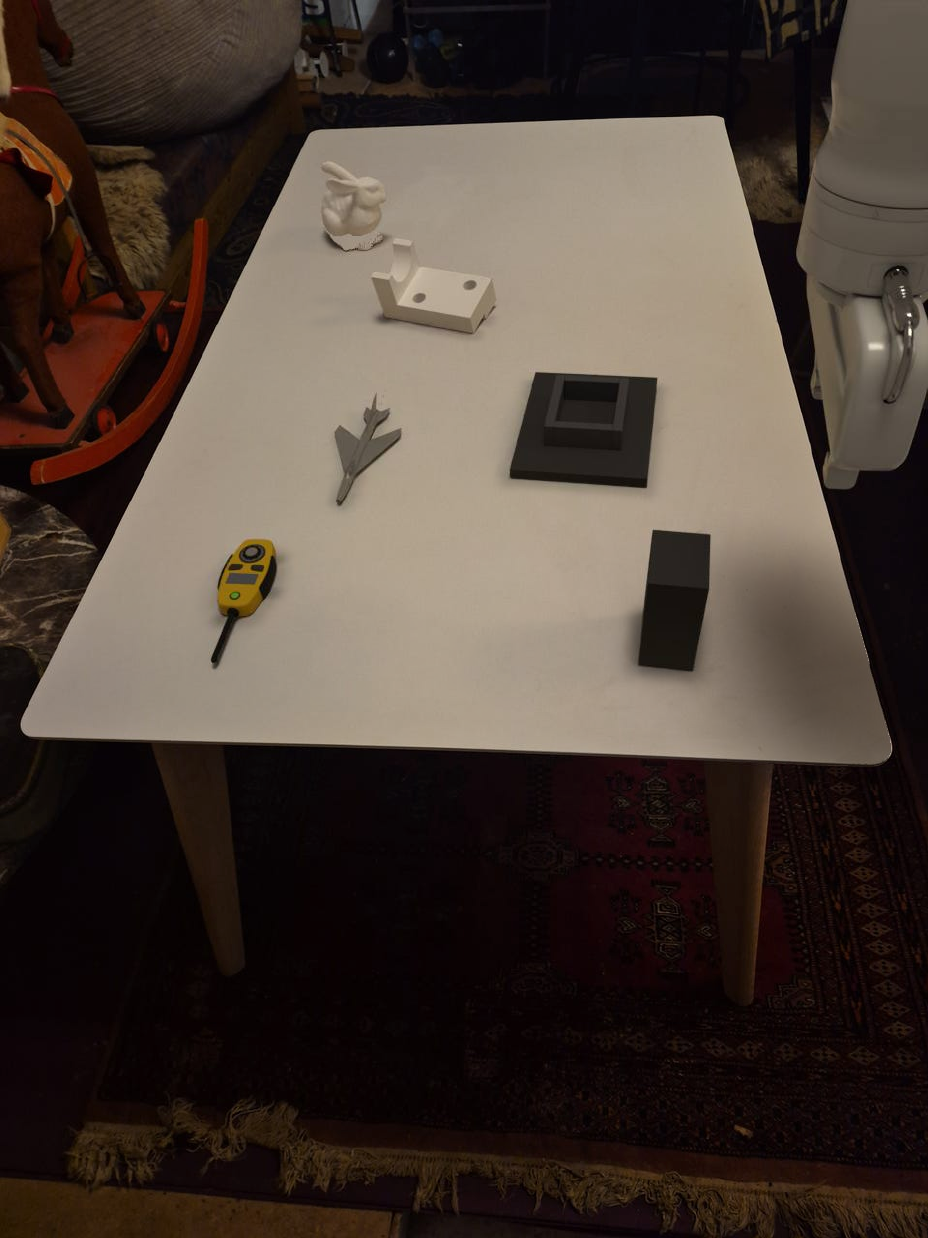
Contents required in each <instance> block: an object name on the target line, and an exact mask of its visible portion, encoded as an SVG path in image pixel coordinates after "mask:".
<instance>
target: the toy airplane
mask: <svg viewBox="0 0 928 1238" xmlns="http://www.w3.org/2000/svg"><path fill="white" fill-rule="evenodd" d="M384 391H385V392H387V389H384ZM377 394H378V392H375V395H374V397H373V400H372V404H371V408H369V407H368V406H366V407H365V409H364V411H363V415H362V416H363V417H364V420H365V421H366V425H365V427H364V429H363V431H362V433H361V436H360V438H358V437H356V435H354V434H353V433H352V432H350V431H349V430H348V429H346V428H345V427H343V426H342V425H341V424H339V425H338V426H337V427H336V429H335V431H334V437H335V439H336V444H337V448H338V451H339V456H340V460H341V463H342V467H343V471H344V475H343V477H342V480H341V482H340V485H339V489H338V491H337V496H336V501H335V502H336V503H337V504H341V503H342V501H343V500H344V499H345V497H346V495H347V494H348V492H349V490H350V488H351V485H352V483H353V481H354V479H355V476H356V474H357V473H359V472H360V471H361V470H362V469H364V467H366V466H367V465H368V464H370V463H371V462H372V461H373V460H374V459H375V458H376V457H378V456H379V455H380V454H381V453H382V452H383V451H384V450H386V449H387V448H388V447H389V446H390V445H391V444H393V443H394V442H395V441H396V440H397V439H398V438H400V437H401V434H402V427H400V428H398V429H395V430H392V431H390V432H387V433H384V434H382V435H380V436H376V437H374V438H371V437H372V435H373V432H374V430H375V427H376V425H377V424H378V423H379V422H380V421H382V420H383V419H385V418H386V417H387V416H388V414H389V412H390V410H391V407H388V408H386V409H383V410H381V411H380V410H379V409H377V398H378V397H377ZM382 397H385V395H384V394H382ZM382 404H383V403H382V402H380V403H379V405H380V406H381V405H382Z"/></svg>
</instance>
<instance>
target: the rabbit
mask: <svg viewBox="0 0 928 1238" xmlns="http://www.w3.org/2000/svg"><path fill="white" fill-rule="evenodd" d="M320 168H321V170H322V172H323V173H326V174H328V175H330V176H333V177H335V178H327V179H326V180H325V186H326V188H327V190H326V191H325V193H324V194H323V197H322V200H321V209H320V213H321V217H322V223H323V224H322V225H323V226H324V229H325V228H326V230H327V231H328V232H329V233H330V234H332V235H333V236H343V235H346V234H351V235H352V236H362V235H365V234H368V233H371V232H372V231H374V230H375V229H376V228H377V227H378V226H379V225H380V223H381V221H382V209H381V207H380V204H384V203H385V202H386V201H387V198H388V197H387V189H386V187H385V186H384V184H383V183H382V182H381V181H379V180H378V179H376V178H374V177H372V176H361V177H359V178H358V177H355V176H354V175H352V173H351V172H349V171H348V170H346V169H345V168H343V167H342V166H340V164H337V163H335V162H334V161H330V160H329V161H328V160H327V161H325V162H324V163H322V164H321V167H320ZM379 233H380V234H379V235H377V238H378V237H379V236H382V238H383V235H382V233H381V232H379ZM382 238H381V237H380V240H377V241H378V243H381V242H382V241H381V239H382ZM383 239H384V238H383ZM383 239H382V240H383ZM370 240H371V239H370ZM375 241H376V238H375ZM375 241H373V244H372V243H371V246H372V247H371V246H369V245H367V244H366V245H367V247H365V243H364V242H363V243H364V246H363V245H362V248H361V244H360V243H359V246H360V247H359V246H357V247H358V249H357V248H356V249H355V250H359V251H368V250H371V249H373V248H374V247H373V246H374V245H375V244H378V243H377V242H375ZM374 242H375V243H374ZM368 244H369V242H368ZM349 251H353V250H352V249H351V250H349ZM349 251H348V252H349Z"/></svg>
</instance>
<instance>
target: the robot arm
mask: <svg viewBox="0 0 928 1238" xmlns="http://www.w3.org/2000/svg"><path fill="white" fill-rule="evenodd" d="M831 72H832V73H831V79H830V81H831V82H830V83H831V84H830V85H831V87H830V88H831V99H832V104H831V105H832V108H831V114H830V115H831V116H830V121H829V125H828V128H827V131H826V134H825V137H824V139H823V140H822V142H821V144H820V146H819V149H818V151H817V153H816V155H815V158H814V162H813V165H812V172H811V177H810V180H809V185H808V190H807V195H806V200H805V205H804V211H803V216H802V221H801V225H800V229H799V230H800V231H799V236H798V239H797V240H798V241H797V246H796V253H795V254H796V255H795V256H796V259H797V263H798V265H799V266H800V267H801V269H802V271H804V272H805V273H806V298H807V303H808V310H809V311H808V312H809V317H810V325H811V330H812V336H813V344H814V367H813V371H812V374H811V378H810V390H811V396H812V397H813V399H814V400H817V401H818V400H820V401H822V405H823V411H824V419H825V424H826V432H827V438H828V439H827V440H828V445H829V451H826V454H825V458H824V463H823V465H822V476H823V484H824V487H826V488H827V489H829V490H831V489H833V490H850V489H852V488H854V486H855V485H856V483H857V479H858V476H859V473H860V471H863V472H864V471H865V472H890V471H893V470H895V469H897V468H898V467H900V465H902V464H903V463H904V462H905V461H906V459H907V456H908V455H909V451H910V449H911V446H912V441H913V439H914V436H915V433H916V430H917V426H918V423H919V420H920V416H921V414H922V409H923V405H924V403H925V399H926V395H927V393H928V316H927V314H926V310H925V307H924V303H925V302H926V301H927V300H928V0H847V2H846V7H845V11H844V14H843V19H842V23H841V27H840V32H839V37H838V40H837V46H836V51H835V55H834V61H833V65H832V71H831Z"/></svg>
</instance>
